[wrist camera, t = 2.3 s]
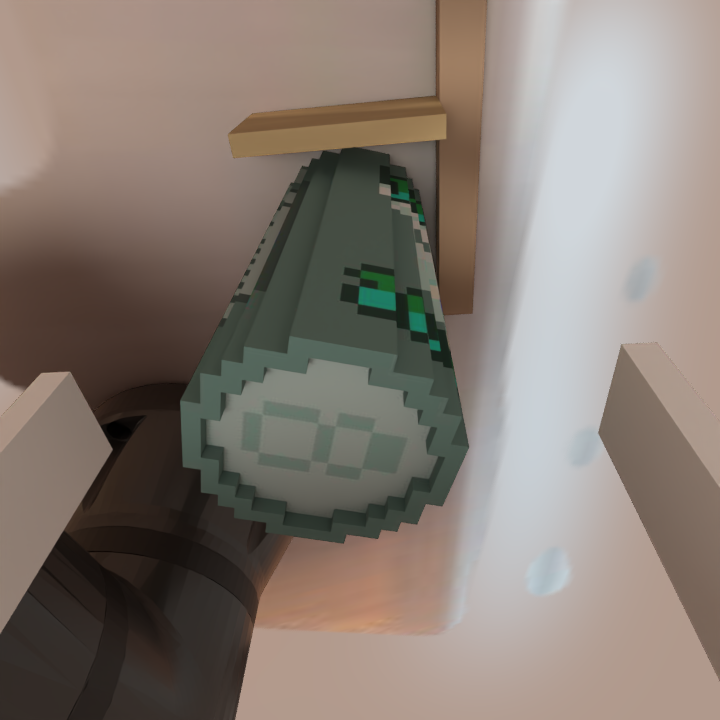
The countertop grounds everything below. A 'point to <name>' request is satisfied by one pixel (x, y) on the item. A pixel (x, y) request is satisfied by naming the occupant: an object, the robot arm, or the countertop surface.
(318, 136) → the notch rack
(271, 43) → the countertop surface
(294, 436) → the can
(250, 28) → the countertop surface
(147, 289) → the countertop surface
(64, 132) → the countertop surface
